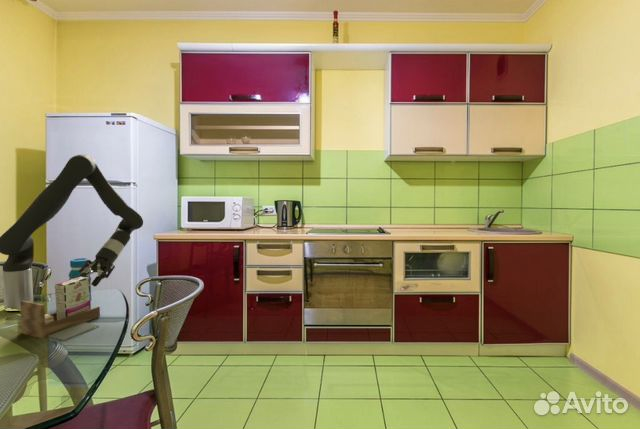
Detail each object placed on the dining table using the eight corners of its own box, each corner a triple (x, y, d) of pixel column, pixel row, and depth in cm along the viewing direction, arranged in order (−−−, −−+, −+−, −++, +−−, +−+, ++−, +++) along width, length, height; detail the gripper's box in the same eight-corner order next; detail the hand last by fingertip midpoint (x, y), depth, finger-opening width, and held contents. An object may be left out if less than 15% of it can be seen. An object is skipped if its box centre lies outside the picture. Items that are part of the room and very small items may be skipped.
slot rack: (21, 333, 124) (20, 301, 123) (81, 312, 144) (80, 284, 143) (42, 338, 120) (41, 305, 119) (100, 316, 141) (100, 288, 140)
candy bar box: (81, 314, 142) (80, 276, 141) (91, 316, 141) (90, 277, 140) (55, 325, 131) (54, 283, 130) (66, 327, 130) (64, 284, 129)
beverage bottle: (68, 307, 150) (66, 262, 148) (70, 301, 157) (69, 258, 155) (91, 304, 154) (89, 260, 152) (92, 298, 161) (91, 256, 160)
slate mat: (48, 337, 121) (48, 335, 121) (83, 323, 134) (83, 322, 134) (64, 341, 119) (64, 339, 119) (99, 326, 131) (98, 325, 131)
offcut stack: (31, 333, 124) (31, 318, 124) (46, 327, 129) (46, 313, 128) (41, 335, 122) (41, 321, 122) (56, 330, 127) (56, 316, 127)
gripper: (92, 245, 149) (66, 277, 139) (117, 248, 145) (92, 281, 135) (103, 255, 155) (79, 286, 145) (128, 258, 150) (104, 290, 140)
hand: (85, 284), depth 140 cm, fingers open, 8 cm apart
